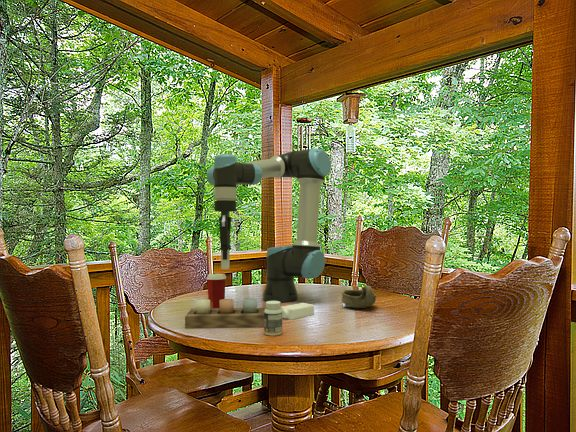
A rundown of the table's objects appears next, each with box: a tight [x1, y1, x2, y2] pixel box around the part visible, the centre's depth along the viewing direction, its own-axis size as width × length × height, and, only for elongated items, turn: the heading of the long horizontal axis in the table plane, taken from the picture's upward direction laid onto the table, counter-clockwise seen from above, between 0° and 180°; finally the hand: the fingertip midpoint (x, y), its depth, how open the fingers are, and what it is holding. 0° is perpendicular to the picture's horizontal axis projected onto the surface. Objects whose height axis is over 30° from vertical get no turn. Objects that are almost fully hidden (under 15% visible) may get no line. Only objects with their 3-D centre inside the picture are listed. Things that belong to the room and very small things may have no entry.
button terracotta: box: [219, 298, 235, 314], centre depth 157 cm, size 5×5×4 cm
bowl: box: [341, 285, 377, 309], centre depth 179 cm, size 14×18×10 cm
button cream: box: [195, 298, 210, 314], centre depth 156 cm, size 5×5×4 cm
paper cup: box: [205, 273, 227, 308], centre depth 176 cm, size 8×8×14 cm
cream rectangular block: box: [280, 302, 315, 321], centre depth 167 cm, size 6×13×4 cm, turn 134°
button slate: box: [242, 298, 258, 313], centre depth 157 cm, size 5×5×4 cm
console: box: [184, 307, 266, 329], centre depth 157 cm, size 26×12×4 cm, turn 92°
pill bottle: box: [263, 301, 283, 337], centre depth 143 cm, size 6×6×10 cm
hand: (225, 268), depth 157 cm, fingers closed
